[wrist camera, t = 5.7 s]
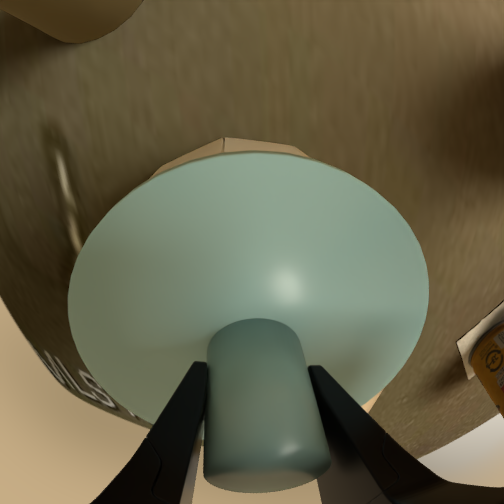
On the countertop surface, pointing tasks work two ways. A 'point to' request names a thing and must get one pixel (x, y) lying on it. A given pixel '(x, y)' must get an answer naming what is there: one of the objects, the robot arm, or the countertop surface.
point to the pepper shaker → (72, 16)
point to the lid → (249, 303)
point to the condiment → (486, 355)
